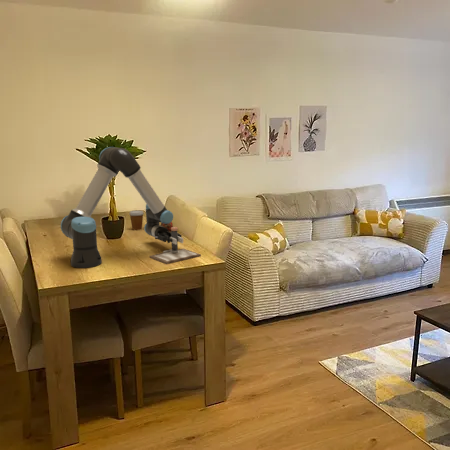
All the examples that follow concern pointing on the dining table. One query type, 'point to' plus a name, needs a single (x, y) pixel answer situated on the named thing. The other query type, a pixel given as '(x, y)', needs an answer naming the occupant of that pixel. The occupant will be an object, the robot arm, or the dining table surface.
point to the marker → (174, 235)
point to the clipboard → (174, 256)
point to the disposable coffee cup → (136, 219)
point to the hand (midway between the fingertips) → (179, 241)
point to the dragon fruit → (167, 226)
